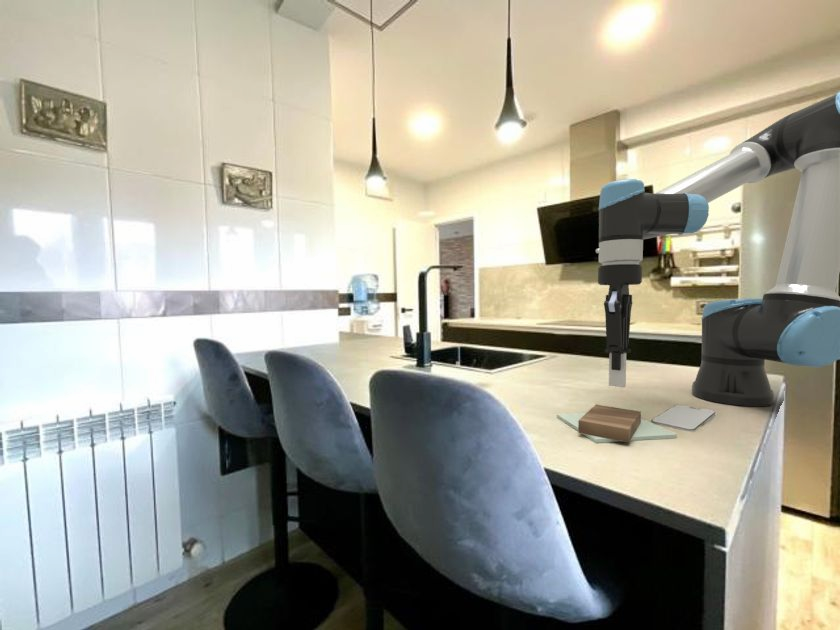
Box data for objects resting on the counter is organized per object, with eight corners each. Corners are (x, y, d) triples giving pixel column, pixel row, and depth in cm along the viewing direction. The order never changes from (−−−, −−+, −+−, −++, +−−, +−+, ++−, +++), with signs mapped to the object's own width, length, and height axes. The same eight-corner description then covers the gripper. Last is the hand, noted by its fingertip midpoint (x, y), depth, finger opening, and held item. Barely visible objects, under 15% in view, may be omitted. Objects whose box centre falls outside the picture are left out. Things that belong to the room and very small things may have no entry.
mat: (624, 413, 82) (624, 410, 82) (676, 437, 68) (676, 434, 68) (556, 417, 80) (556, 414, 80) (595, 442, 66) (595, 439, 66)
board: (595, 404, 78) (578, 420, 69) (640, 411, 74) (629, 429, 64) (595, 415, 79) (578, 432, 69) (640, 423, 74) (628, 442, 64)
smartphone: (649, 420, 76) (676, 403, 85) (649, 426, 76) (676, 409, 85) (693, 430, 70) (717, 411, 80) (693, 436, 70) (717, 416, 80)
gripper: (606, 267, 82) (604, 377, 84) (589, 263, 72) (587, 389, 73) (647, 265, 78) (644, 382, 79) (635, 261, 67) (632, 395, 69)
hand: (617, 385), depth 76 cm, fingers closed
